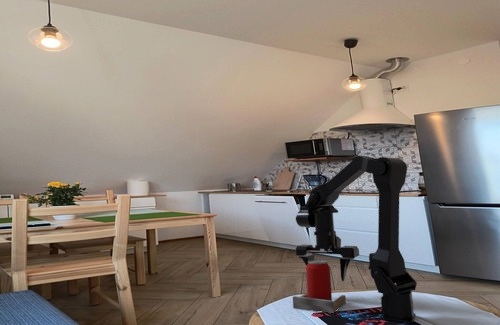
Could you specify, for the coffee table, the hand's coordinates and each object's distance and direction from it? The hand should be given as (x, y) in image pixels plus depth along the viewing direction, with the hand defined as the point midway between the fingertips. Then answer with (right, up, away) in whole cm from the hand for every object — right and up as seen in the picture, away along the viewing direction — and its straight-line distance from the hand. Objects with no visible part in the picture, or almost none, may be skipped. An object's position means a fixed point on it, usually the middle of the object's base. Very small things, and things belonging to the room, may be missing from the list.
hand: (328, 279), depth 101 cm
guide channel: (-4, -5, -7) cm, 9 cm away
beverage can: (-4, -5, -7) cm, 10 cm away
